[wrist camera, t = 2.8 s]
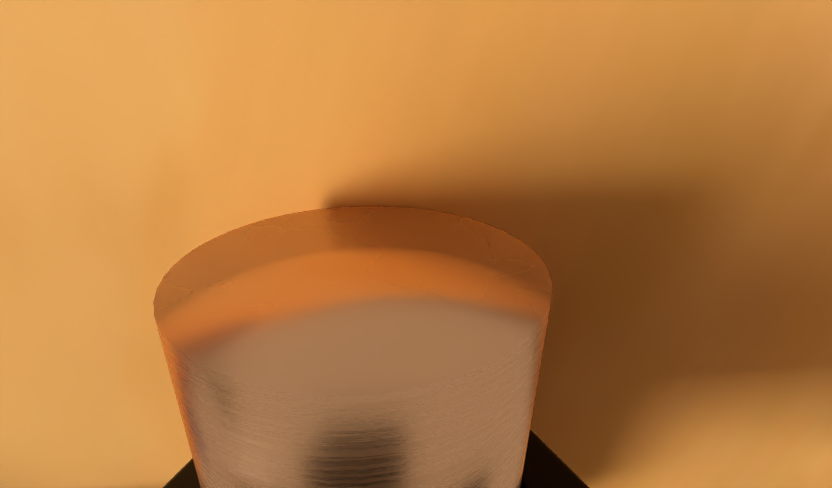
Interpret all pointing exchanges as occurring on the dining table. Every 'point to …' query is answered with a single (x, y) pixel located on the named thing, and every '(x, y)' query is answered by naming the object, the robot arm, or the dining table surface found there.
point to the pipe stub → (357, 350)
